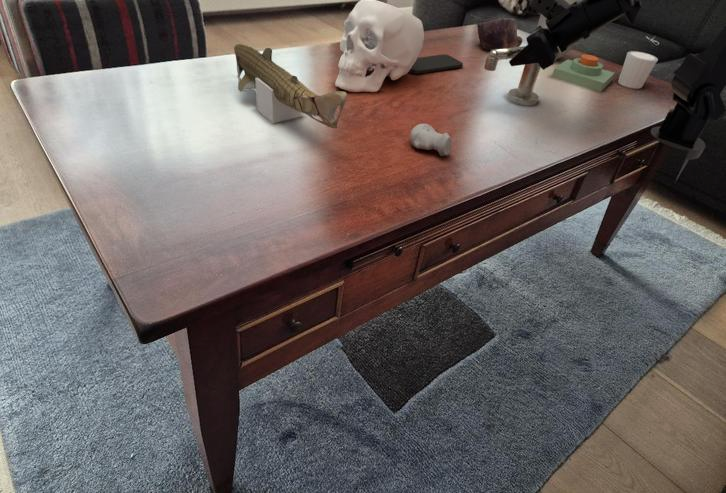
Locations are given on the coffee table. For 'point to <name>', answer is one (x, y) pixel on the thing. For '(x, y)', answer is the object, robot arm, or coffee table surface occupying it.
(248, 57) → the wood carving
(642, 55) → the shot glass
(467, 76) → the coffee table surface
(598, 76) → the push button box
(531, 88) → the faucet
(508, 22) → the rock
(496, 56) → the spout
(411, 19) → the skull planter
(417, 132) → the smooth white sculpture
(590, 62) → the button
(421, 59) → the phone
